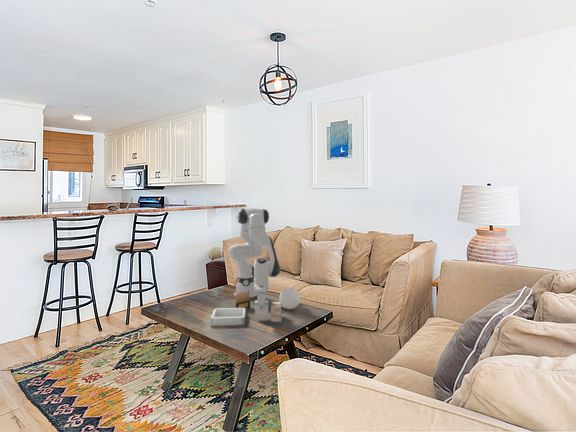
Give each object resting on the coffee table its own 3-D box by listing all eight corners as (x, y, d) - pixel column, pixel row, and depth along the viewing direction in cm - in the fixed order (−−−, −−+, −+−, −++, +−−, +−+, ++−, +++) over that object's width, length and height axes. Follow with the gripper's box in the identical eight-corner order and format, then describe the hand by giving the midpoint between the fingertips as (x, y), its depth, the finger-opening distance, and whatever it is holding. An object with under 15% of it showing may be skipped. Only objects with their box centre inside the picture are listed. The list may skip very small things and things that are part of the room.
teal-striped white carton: (255, 311, 213) (254, 300, 213) (268, 311, 214) (268, 300, 213) (254, 313, 210) (254, 302, 210) (268, 313, 211) (268, 301, 210)
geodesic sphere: (285, 294, 243) (280, 281, 234) (304, 296, 239) (300, 282, 230) (279, 312, 233) (274, 299, 224) (299, 314, 228) (295, 301, 219)
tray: (214, 315, 219) (214, 308, 218) (245, 314, 220) (245, 307, 220) (210, 326, 201) (210, 318, 201) (244, 325, 203) (244, 317, 202)
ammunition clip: (236, 310, 227) (235, 292, 226) (234, 310, 229) (234, 292, 228) (250, 307, 233) (250, 290, 233) (248, 306, 235) (248, 289, 234)
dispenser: (270, 316, 217) (270, 300, 216) (280, 316, 217) (280, 300, 217) (271, 321, 208) (270, 305, 207) (281, 321, 208) (281, 305, 208)
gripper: (256, 281, 221) (256, 302, 222) (255, 290, 200) (255, 314, 202) (266, 281, 221) (266, 302, 222) (266, 290, 201) (266, 314, 202)
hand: (261, 308), depth 212 cm, fingers closed on teal-striped white carton, 3 cm apart
